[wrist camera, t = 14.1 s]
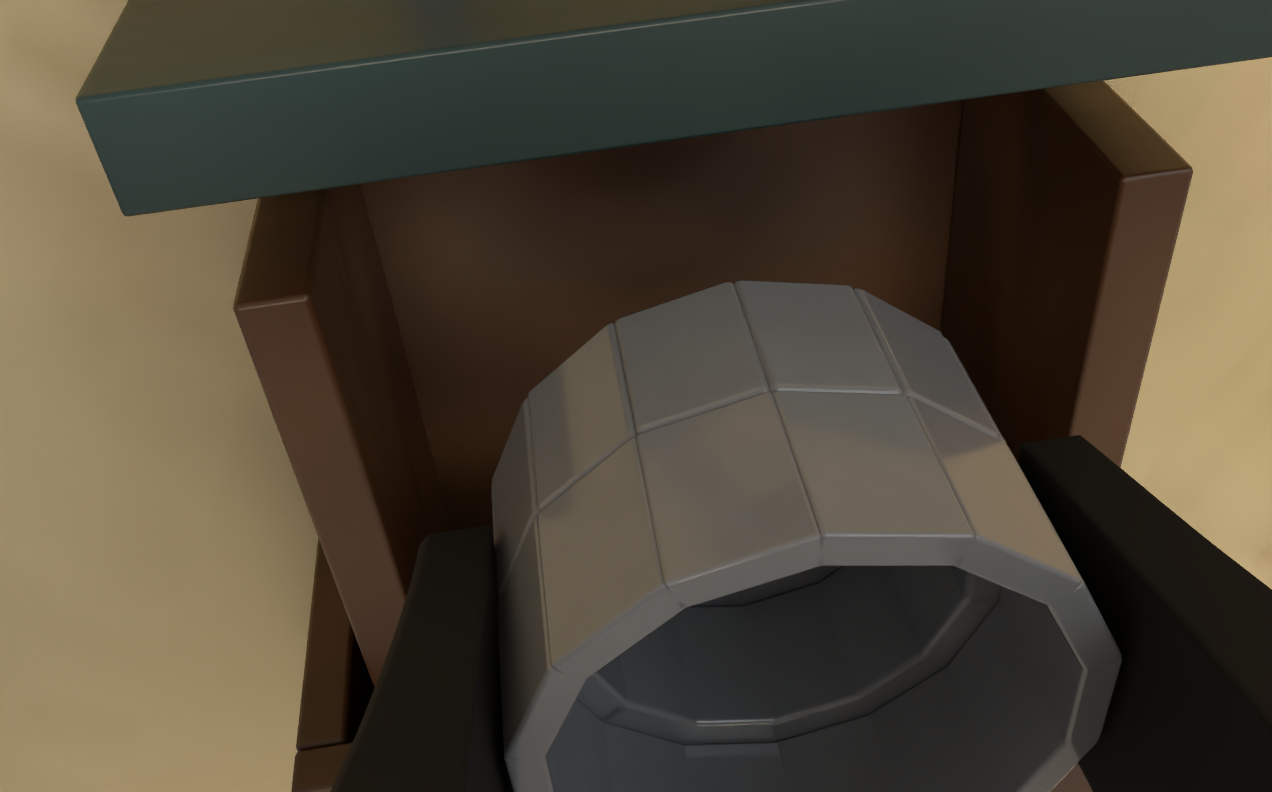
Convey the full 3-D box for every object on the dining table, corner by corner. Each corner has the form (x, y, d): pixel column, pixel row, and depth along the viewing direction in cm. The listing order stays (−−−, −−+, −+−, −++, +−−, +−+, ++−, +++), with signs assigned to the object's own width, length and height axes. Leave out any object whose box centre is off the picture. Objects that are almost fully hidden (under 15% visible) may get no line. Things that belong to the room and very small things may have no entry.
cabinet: (329, 427, 21) (288, 795, 15) (1004, 326, 22) (1206, 645, 16) (469, 846, 30) (476, 1172, 25) (941, 768, 31) (1055, 1070, 25)
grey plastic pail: (532, 647, 15) (554, 947, 12) (452, 292, 11) (457, 592, 8) (944, 582, 15) (1066, 859, 12) (990, 216, 12) (1175, 480, 9)
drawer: (9, -644, 11) (-260, -689, 7) (1142, -763, 12) (1557, -878, 7) (408, 606, 23) (402, 881, 19) (967, 519, 24) (1088, 767, 19)
